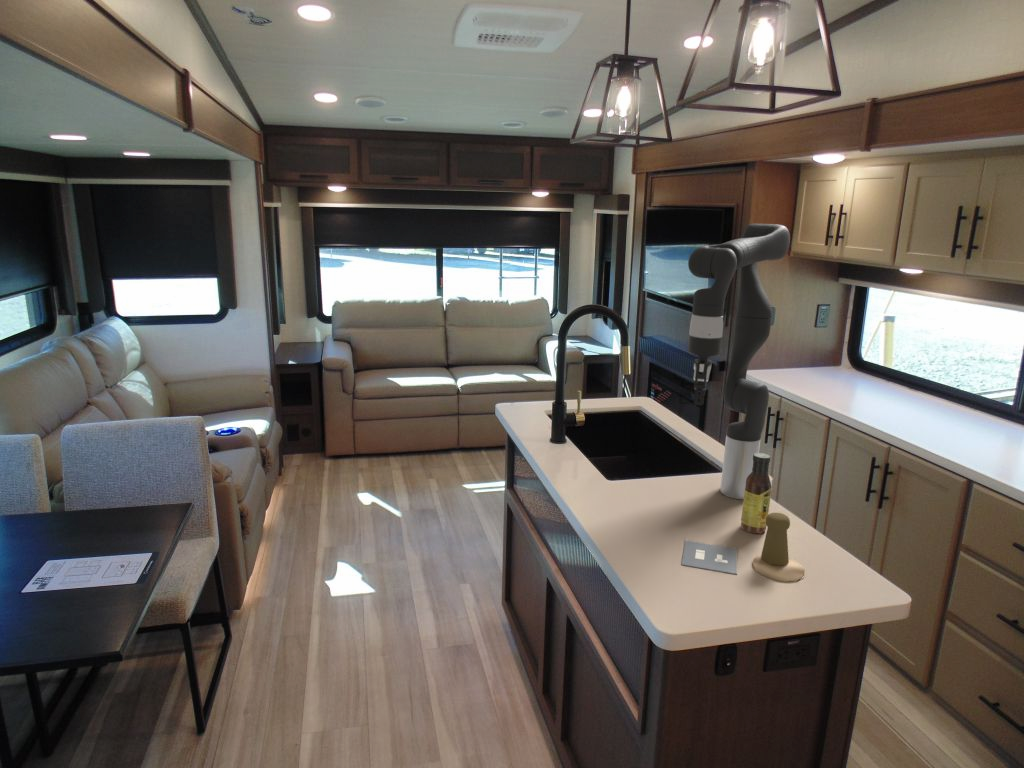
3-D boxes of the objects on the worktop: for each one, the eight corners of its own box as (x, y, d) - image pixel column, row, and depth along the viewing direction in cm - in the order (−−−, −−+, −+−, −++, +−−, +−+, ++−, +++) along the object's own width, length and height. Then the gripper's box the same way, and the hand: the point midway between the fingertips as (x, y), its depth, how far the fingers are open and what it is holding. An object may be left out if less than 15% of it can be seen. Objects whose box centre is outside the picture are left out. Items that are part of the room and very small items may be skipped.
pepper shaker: (791, 566, 151) (795, 521, 149) (763, 564, 153) (766, 519, 150) (786, 554, 157) (789, 510, 155) (759, 552, 158) (762, 508, 156)
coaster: (752, 553, 159) (752, 550, 159) (802, 561, 156) (802, 558, 156) (753, 576, 149) (753, 573, 149) (806, 585, 146) (806, 583, 145)
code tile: (685, 541, 164) (685, 540, 164) (736, 549, 160) (736, 548, 160) (681, 565, 153) (681, 564, 153) (736, 574, 149) (736, 573, 149)
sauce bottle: (764, 536, 167) (774, 462, 162) (738, 531, 170) (747, 457, 165) (767, 526, 173) (776, 453, 168) (741, 521, 175) (750, 449, 170)
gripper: (721, 340, 150) (714, 409, 154) (723, 330, 163) (716, 394, 167) (687, 337, 152) (681, 406, 156) (691, 327, 165) (685, 391, 169)
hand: (699, 400), depth 162 cm, fingers open, 8 cm apart
